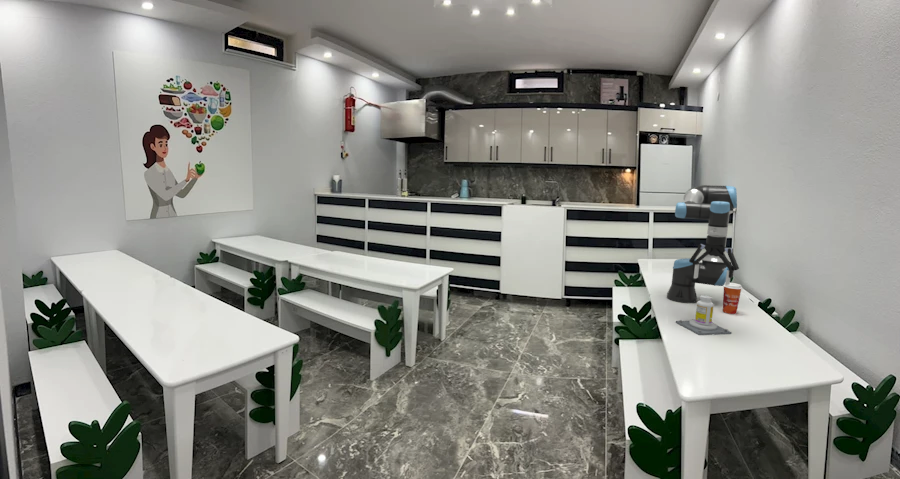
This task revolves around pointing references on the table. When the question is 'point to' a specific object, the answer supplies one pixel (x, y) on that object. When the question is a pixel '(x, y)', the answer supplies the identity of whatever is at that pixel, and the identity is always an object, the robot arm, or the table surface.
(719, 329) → the flange
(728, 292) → the coffee cup
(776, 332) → the table surface
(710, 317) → the supplement bottle
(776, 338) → the table surface
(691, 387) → the table surface
